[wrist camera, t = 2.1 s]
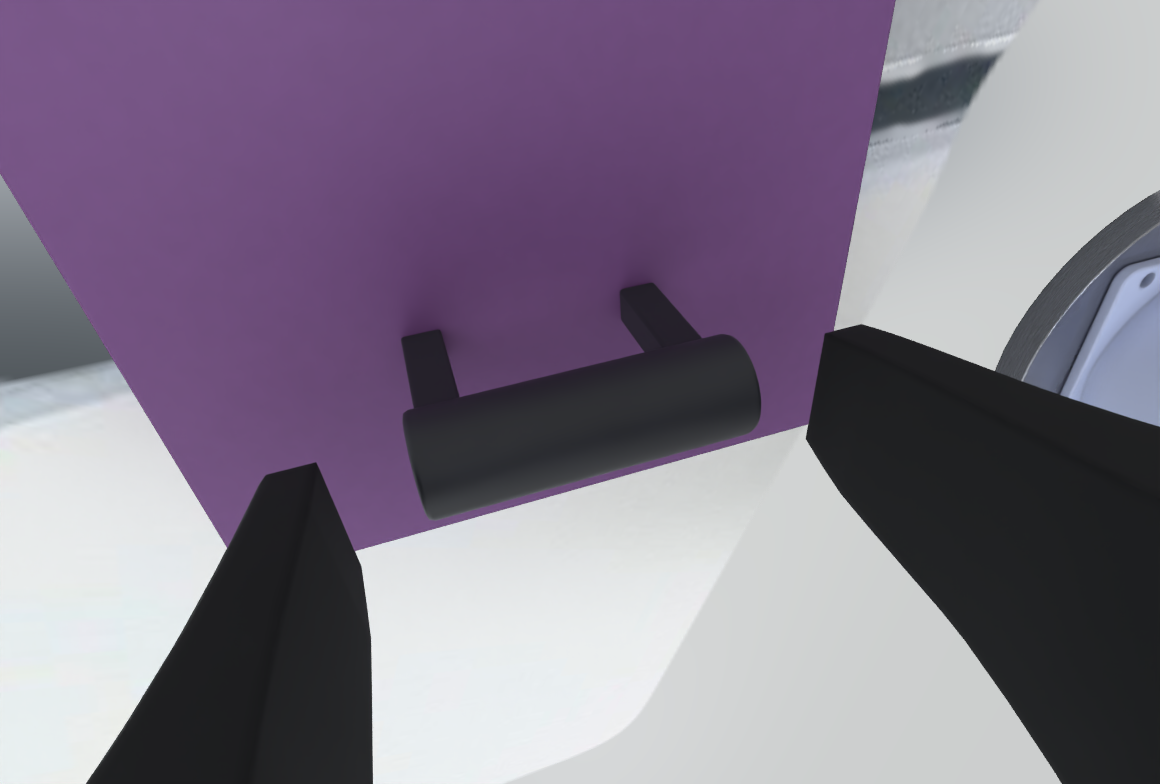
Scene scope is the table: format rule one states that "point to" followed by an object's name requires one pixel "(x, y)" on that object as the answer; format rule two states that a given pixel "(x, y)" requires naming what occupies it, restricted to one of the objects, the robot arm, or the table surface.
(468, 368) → the box cover
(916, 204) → the table surface
